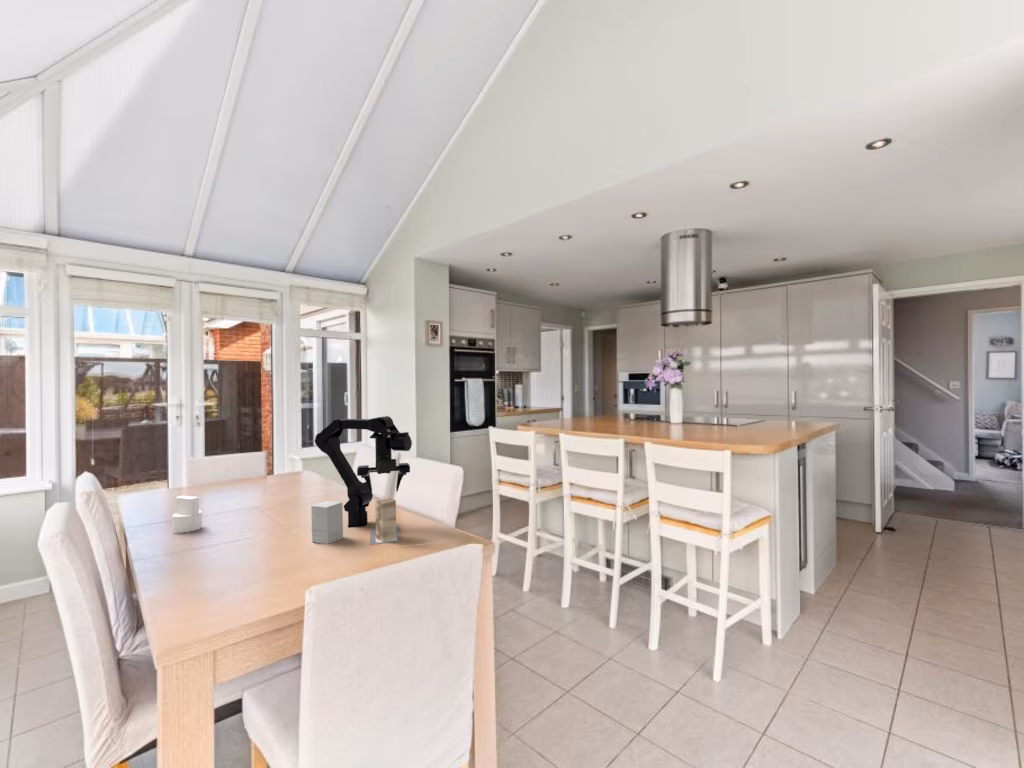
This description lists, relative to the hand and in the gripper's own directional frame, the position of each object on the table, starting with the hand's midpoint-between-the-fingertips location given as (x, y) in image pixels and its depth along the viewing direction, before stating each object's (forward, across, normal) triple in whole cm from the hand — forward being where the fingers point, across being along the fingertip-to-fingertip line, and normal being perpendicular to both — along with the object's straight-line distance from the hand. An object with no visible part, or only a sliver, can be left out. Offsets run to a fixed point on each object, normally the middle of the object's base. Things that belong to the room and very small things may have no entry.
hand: (384, 492), depth 177 cm
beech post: (+12, 0, -14) cm, 19 cm away
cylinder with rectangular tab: (+13, -71, +21) cm, 75 cm away
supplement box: (+13, -19, -9) cm, 25 cm away
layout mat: (+13, 0, -10) cm, 16 cm away
